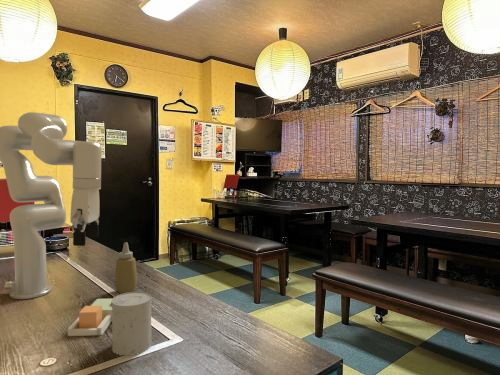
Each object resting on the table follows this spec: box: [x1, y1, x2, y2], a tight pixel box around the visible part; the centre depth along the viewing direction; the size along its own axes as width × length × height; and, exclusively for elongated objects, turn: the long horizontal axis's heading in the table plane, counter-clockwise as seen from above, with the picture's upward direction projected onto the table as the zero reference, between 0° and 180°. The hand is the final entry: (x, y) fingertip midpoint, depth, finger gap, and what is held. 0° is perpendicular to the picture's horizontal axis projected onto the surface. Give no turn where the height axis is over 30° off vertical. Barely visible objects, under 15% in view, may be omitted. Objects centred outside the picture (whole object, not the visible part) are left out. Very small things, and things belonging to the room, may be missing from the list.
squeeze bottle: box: [114, 242, 139, 295], centre depth 126 cm, size 8×8×18 cm
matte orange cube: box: [78, 305, 102, 329], centre depth 98 cm, size 5×5×6 cm
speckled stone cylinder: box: [111, 291, 153, 356], centre depth 88 cm, size 10×10×12 cm
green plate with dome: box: [67, 298, 113, 337], centre depth 102 cm, size 15×18×4 cm
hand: (86, 241), depth 103 cm, fingers open, 9 cm apart
